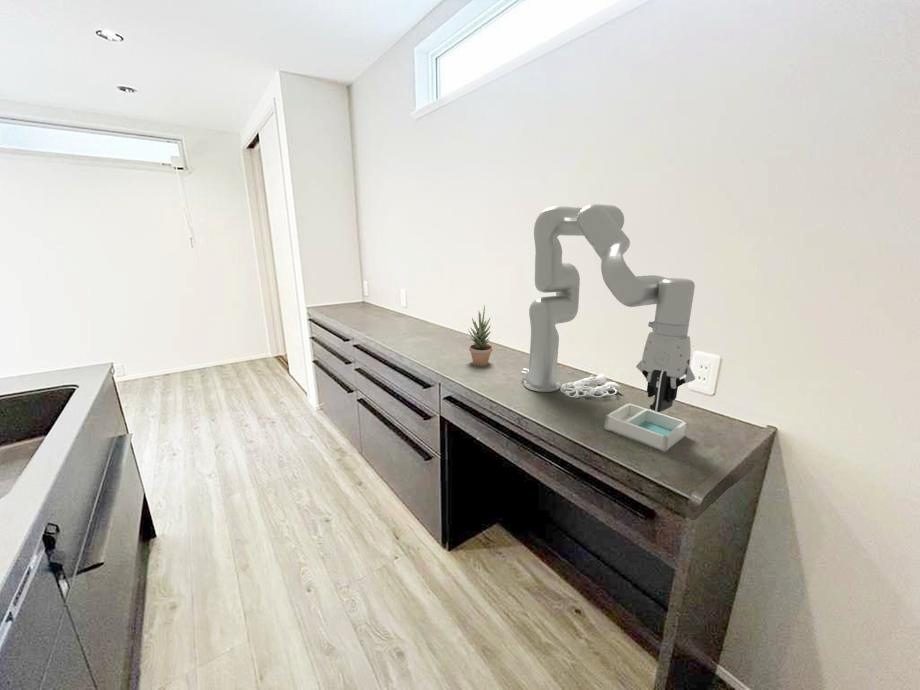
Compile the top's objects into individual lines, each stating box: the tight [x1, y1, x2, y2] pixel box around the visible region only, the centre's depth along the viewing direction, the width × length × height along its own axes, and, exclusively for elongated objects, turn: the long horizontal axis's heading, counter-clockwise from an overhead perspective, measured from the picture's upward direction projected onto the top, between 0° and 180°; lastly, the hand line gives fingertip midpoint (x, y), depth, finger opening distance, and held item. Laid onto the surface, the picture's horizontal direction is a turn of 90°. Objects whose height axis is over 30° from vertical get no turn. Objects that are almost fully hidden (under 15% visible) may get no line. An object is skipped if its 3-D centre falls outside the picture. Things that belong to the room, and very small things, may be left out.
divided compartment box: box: [603, 402, 688, 453], centre depth 104 cm, size 16×13×4 cm
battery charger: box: [649, 370, 674, 413], centre depth 99 cm, size 7×4×11 cm, turn 125°
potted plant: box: [468, 304, 493, 367], centre depth 157 cm, size 10×10×25 cm
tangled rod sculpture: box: [559, 373, 621, 399], centre depth 131 cm, size 19×14×4 cm
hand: (660, 397), depth 100 cm, fingers closed on battery charger, 4 cm apart
